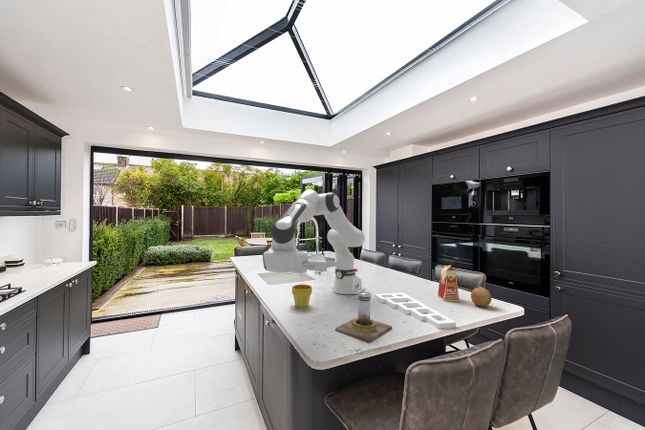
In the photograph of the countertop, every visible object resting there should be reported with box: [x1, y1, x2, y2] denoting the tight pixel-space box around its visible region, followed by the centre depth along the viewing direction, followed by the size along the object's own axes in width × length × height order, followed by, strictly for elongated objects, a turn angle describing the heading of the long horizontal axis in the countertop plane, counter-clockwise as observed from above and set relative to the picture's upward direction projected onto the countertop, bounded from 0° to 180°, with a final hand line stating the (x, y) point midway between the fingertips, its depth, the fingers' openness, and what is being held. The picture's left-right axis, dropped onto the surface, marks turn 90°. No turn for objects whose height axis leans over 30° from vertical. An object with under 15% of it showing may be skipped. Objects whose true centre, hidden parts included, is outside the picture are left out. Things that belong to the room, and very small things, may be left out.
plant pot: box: [291, 283, 313, 308], centre depth 143 cm, size 10×10×10 cm
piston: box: [357, 291, 372, 326], centre depth 115 cm, size 5×5×14 cm
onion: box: [470, 286, 492, 308], centre depth 147 cm, size 10×10×10 cm
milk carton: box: [437, 264, 461, 302], centre depth 159 cm, size 9×9×20 cm
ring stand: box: [334, 316, 393, 344], centre depth 115 cm, size 18×16×3 cm
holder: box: [374, 292, 457, 330], centre depth 139 cm, size 45×18×3 cm, turn 13°
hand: (336, 261), depth 114 cm, fingers open, 8 cm apart
